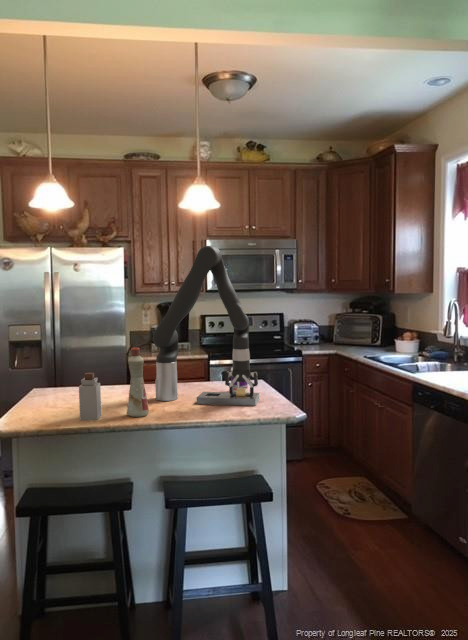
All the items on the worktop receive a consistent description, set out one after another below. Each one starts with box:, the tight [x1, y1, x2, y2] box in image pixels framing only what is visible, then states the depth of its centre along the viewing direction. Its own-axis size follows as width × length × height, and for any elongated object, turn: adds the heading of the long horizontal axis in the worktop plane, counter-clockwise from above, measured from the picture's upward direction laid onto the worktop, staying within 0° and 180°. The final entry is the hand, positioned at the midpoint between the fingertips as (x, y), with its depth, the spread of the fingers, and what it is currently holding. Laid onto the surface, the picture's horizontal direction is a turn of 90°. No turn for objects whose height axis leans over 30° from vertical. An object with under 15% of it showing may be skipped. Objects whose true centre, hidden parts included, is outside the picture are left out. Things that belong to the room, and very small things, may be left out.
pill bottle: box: [230, 366, 249, 392], centre depth 249 cm, size 8×8×14 cm
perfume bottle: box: [78, 372, 102, 421], centre depth 203 cm, size 7×7×18 cm
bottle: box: [126, 346, 150, 418], centre depth 206 cm, size 9×9×28 cm
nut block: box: [236, 388, 248, 397], centre depth 226 cm, size 4×4×6 cm
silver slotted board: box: [196, 391, 260, 407], centre depth 228 cm, size 26×12×3 cm, turn 79°
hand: (241, 395), depth 226 cm, fingers open, 8 cm apart
